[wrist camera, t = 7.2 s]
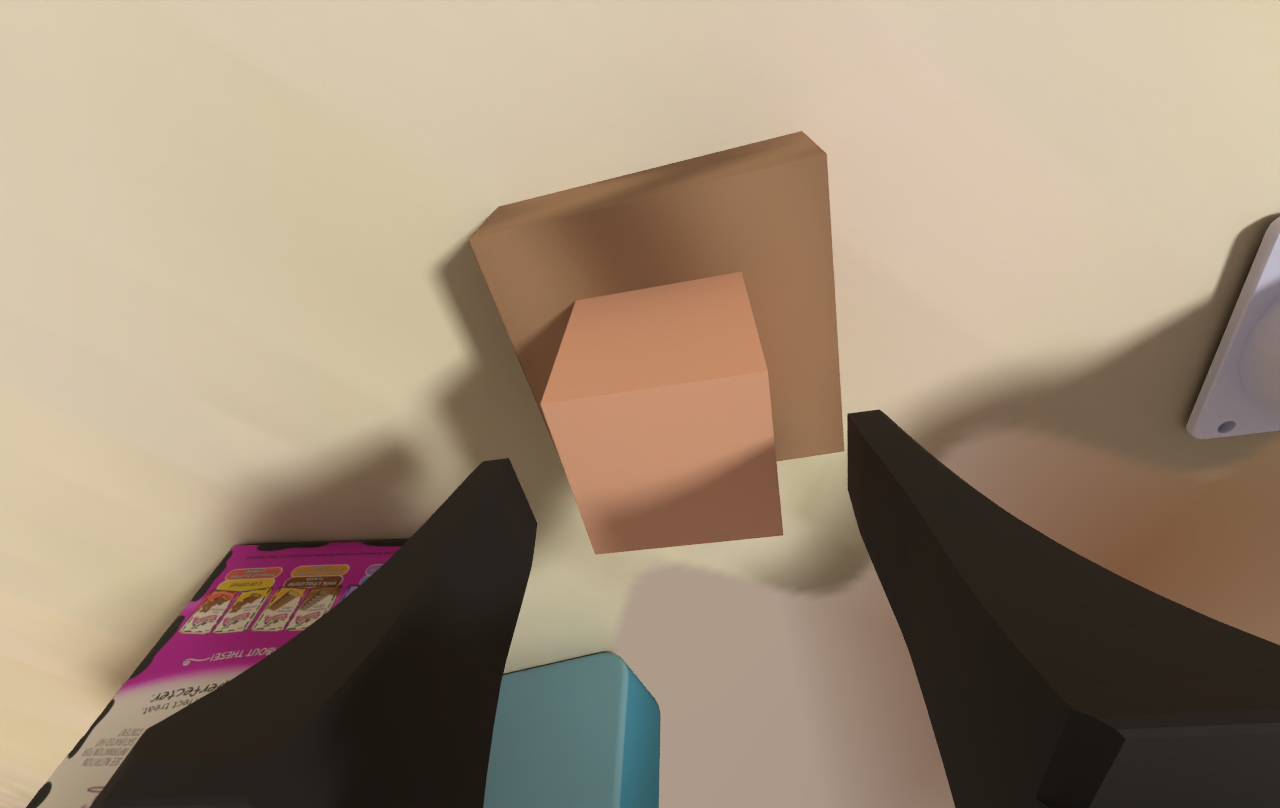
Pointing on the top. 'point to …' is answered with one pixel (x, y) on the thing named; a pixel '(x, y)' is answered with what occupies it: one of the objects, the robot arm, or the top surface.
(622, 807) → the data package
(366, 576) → the candy bar box
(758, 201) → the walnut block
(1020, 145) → the top surface
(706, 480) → the terracotta block
